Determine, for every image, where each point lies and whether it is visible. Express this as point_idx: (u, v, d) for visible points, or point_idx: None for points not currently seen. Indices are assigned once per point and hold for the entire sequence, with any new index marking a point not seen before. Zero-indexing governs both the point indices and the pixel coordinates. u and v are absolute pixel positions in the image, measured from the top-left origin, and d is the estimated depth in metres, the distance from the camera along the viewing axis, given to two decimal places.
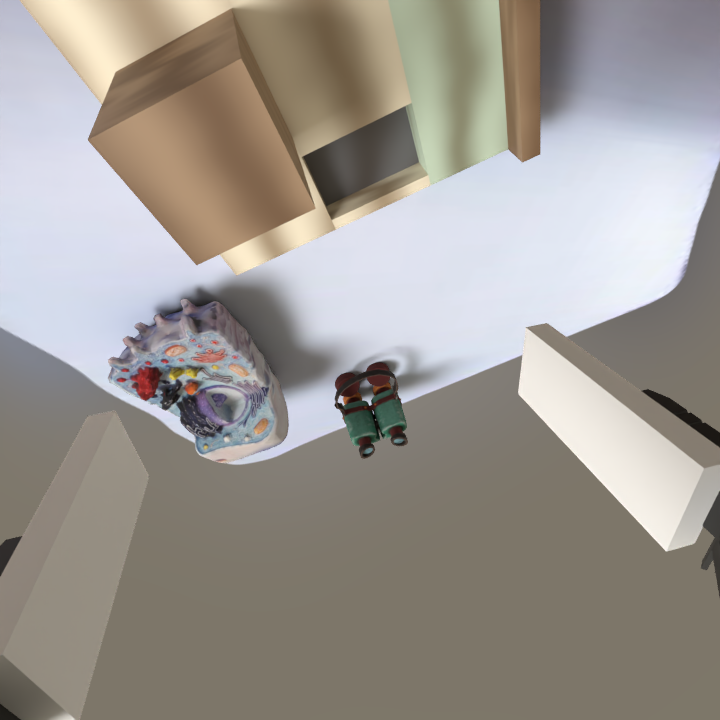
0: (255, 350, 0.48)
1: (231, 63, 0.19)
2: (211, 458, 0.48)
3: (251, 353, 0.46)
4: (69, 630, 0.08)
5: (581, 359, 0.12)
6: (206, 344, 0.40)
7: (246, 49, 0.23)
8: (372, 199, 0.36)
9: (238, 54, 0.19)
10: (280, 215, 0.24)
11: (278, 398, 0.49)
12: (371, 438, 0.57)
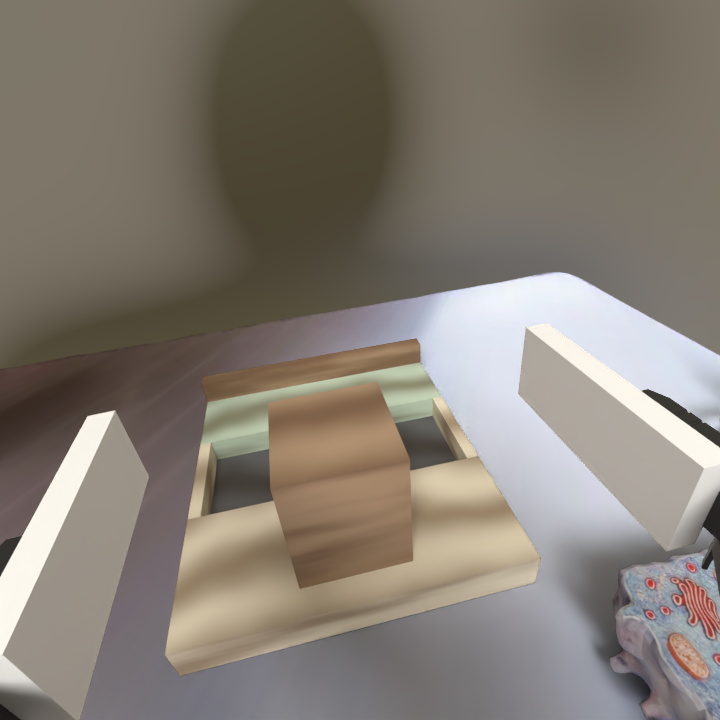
0: None
1: (268, 407, 0.30)
2: None
3: None
4: (69, 630, 0.08)
5: (581, 359, 0.12)
6: (660, 599, 0.23)
7: None
8: (450, 431, 0.41)
9: None
10: (376, 399, 0.29)
11: None
12: None
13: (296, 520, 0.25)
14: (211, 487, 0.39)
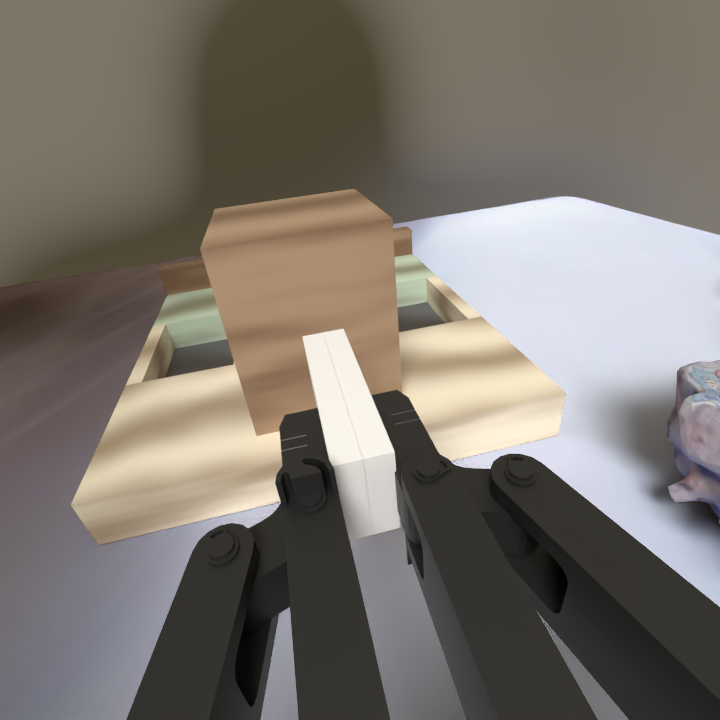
0: None
1: (214, 211, 0.23)
2: None
3: None
4: None
5: (344, 362, 0.13)
6: None
7: None
8: (447, 301, 0.34)
9: None
10: (351, 196, 0.23)
11: None
12: None
13: (242, 312, 0.19)
14: (163, 367, 0.33)
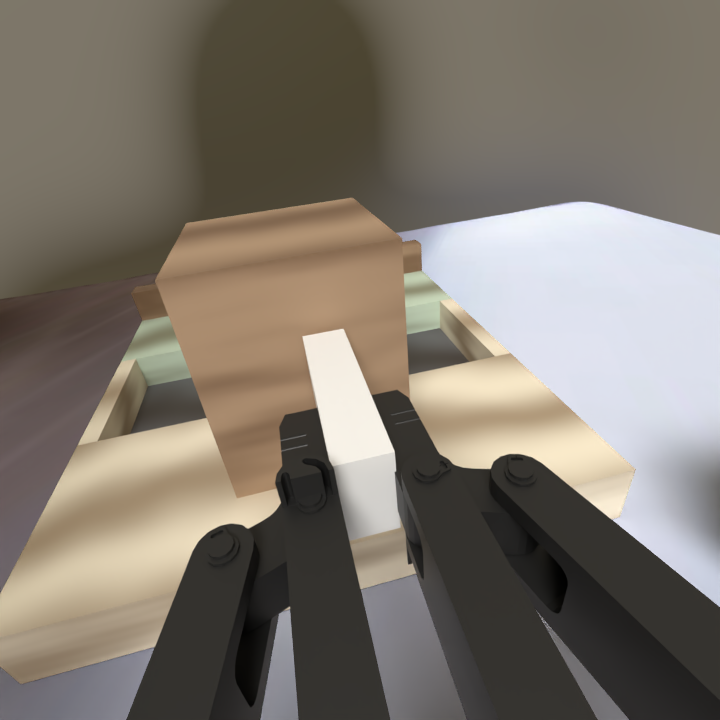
0: None
1: (185, 226, 0.19)
2: None
3: None
4: None
5: (344, 362, 0.13)
6: None
7: None
8: (467, 331, 0.29)
9: None
10: (349, 207, 0.19)
11: None
12: None
13: (214, 357, 0.15)
14: (130, 414, 0.28)
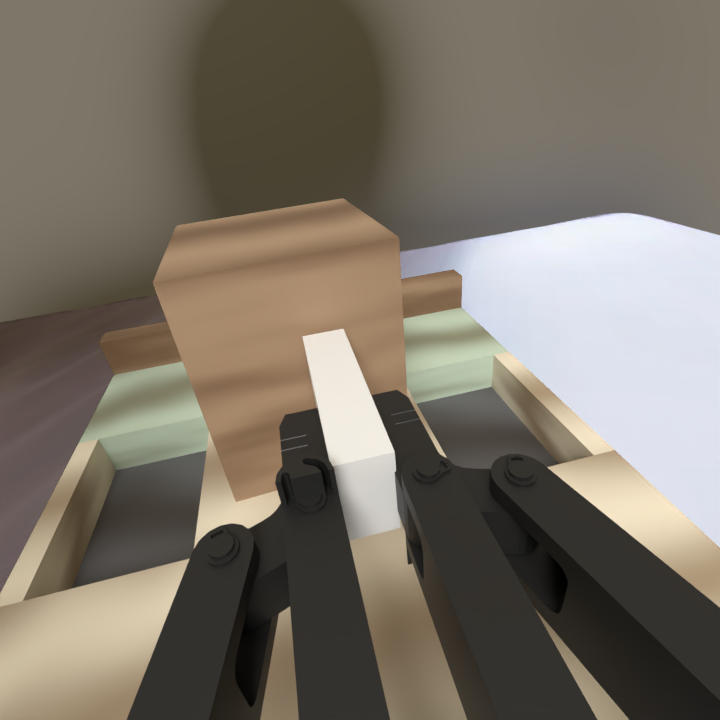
0: None
1: (175, 229, 0.19)
2: None
3: None
4: None
5: (344, 362, 0.13)
6: None
7: None
8: (541, 406, 0.22)
9: None
10: (341, 207, 0.19)
11: None
12: None
13: (213, 359, 0.15)
14: (85, 525, 0.20)
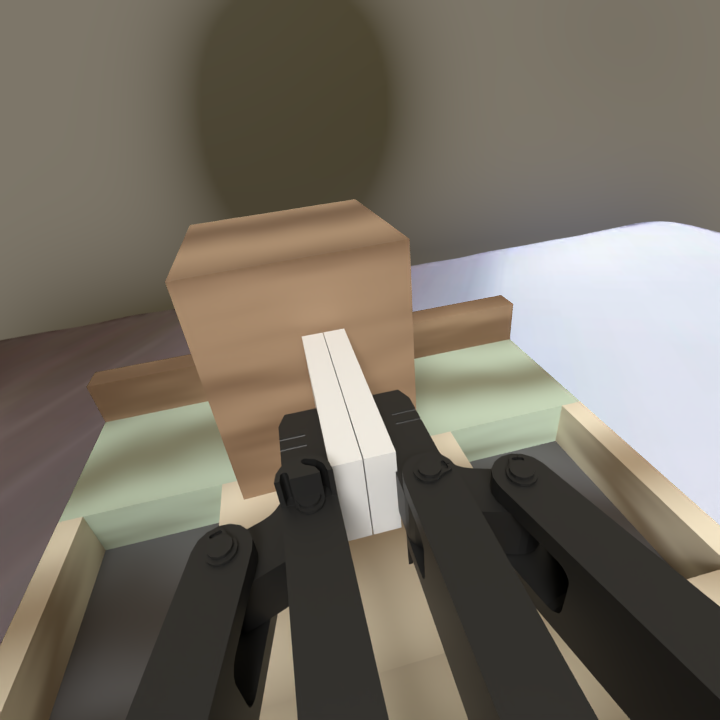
0: None
1: (189, 228, 0.19)
2: None
3: None
4: None
5: (345, 362, 0.13)
6: None
7: None
8: (637, 482, 0.17)
9: None
10: (353, 208, 0.19)
11: None
12: None
13: (223, 358, 0.15)
14: (63, 641, 0.16)
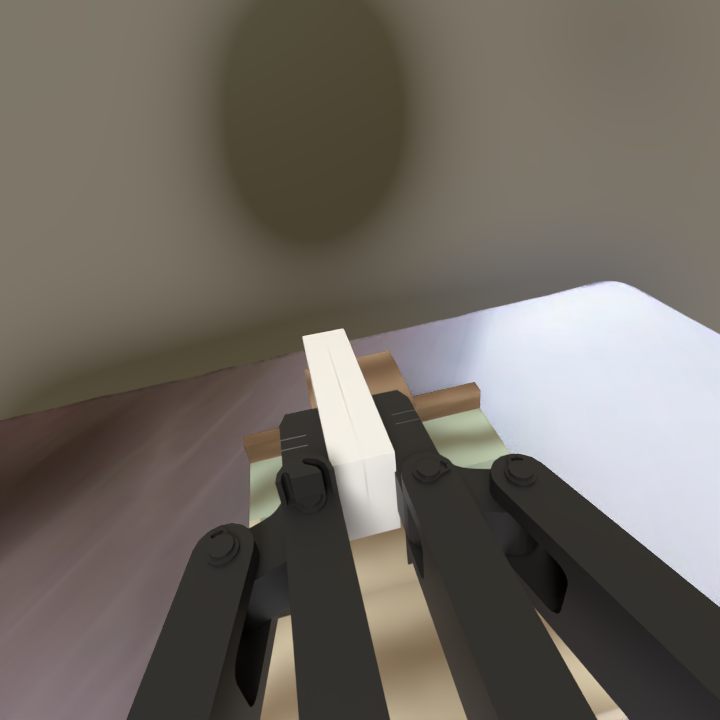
0: None
1: None
2: None
3: None
4: None
5: (344, 362, 0.13)
6: None
7: None
8: None
9: None
10: (389, 363, 0.38)
11: None
12: None
13: None
14: None
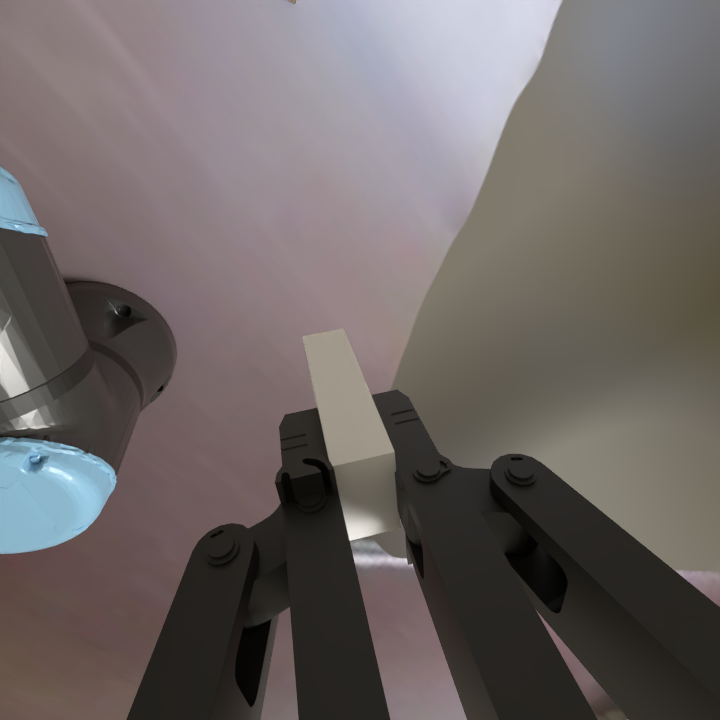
0: None
1: None
2: None
3: None
4: None
5: (344, 362, 0.13)
6: None
7: None
8: None
9: None
10: None
11: None
12: None
13: None
14: None
